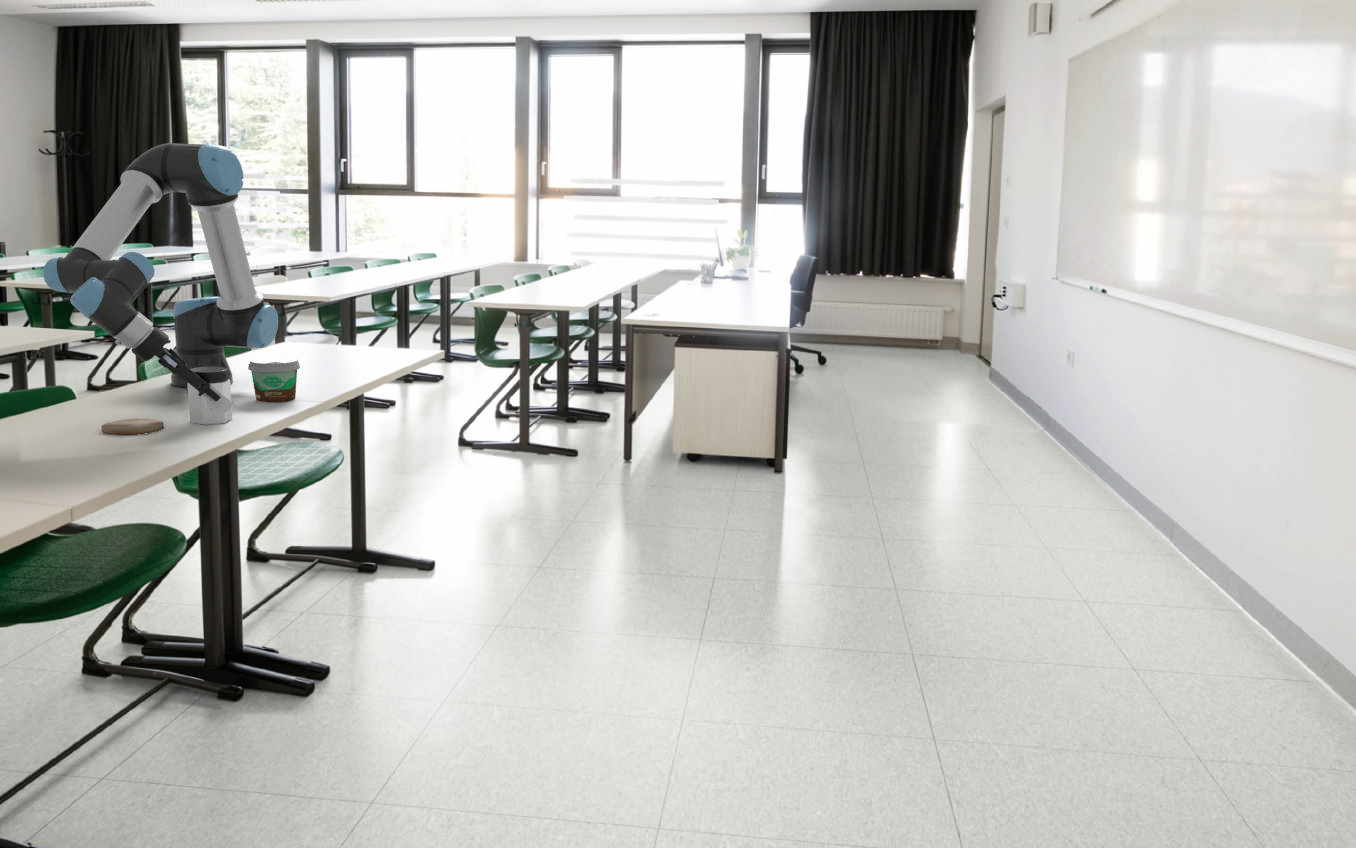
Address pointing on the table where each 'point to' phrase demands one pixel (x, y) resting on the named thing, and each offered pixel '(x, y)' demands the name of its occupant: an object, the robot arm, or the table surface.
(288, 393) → the food container
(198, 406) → the jar
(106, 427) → the candle base
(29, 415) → the table surface
